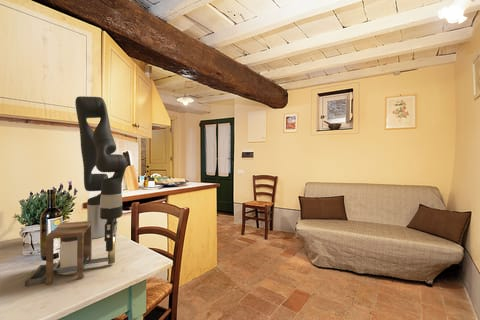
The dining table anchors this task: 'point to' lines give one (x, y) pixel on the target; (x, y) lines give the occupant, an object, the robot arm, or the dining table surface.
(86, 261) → the lever handle
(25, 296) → the dining table surface
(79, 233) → the brown wooden stool
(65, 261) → the can
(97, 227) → the robot arm
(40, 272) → the pit trap
